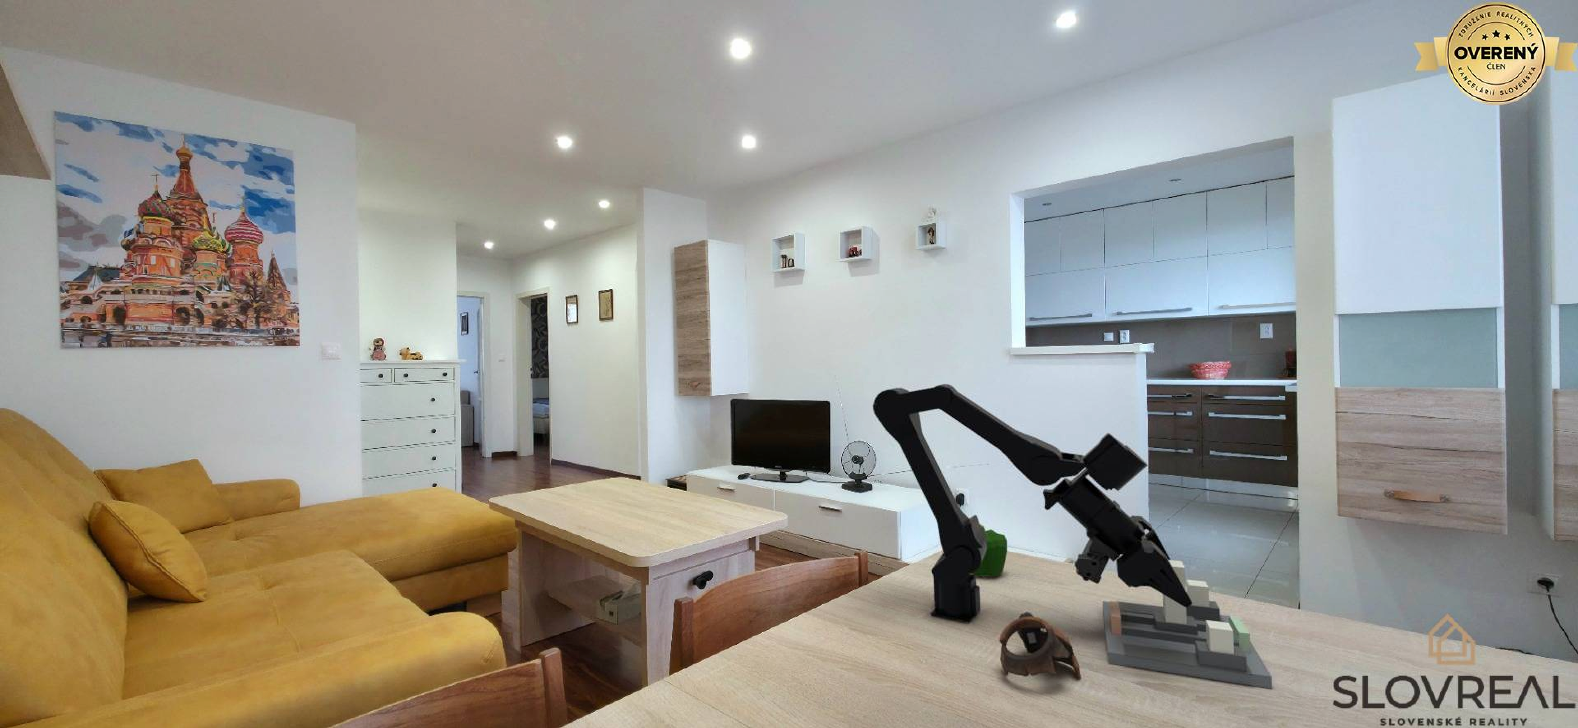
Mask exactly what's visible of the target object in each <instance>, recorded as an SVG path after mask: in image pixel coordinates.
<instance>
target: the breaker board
mask: <svg viewBox="0 0 1578 728" xmlns="http://www.w3.org/2000/svg"><path fill="white" fill-rule="evenodd" d="M1185 585H1186V592H1187V594H1188V596H1189V598H1190V599H1191V601H1192V604H1191V605H1190V606H1189V607H1187V608H1186V616H1191V617H1194V619H1195V622H1196V624H1197V626H1198V635H1192V634H1185V633H1177V632H1170V631H1162V630H1155V628H1154V616H1153V612H1158V613H1163V606H1160V605H1151V604H1145V603H1134V602H1128V601H1127V602H1126V601H1118V600H1116V601H1112V600H1109V601H1106V600H1103V601H1102V614H1103V624H1104V634H1105V643H1106V652H1107V662H1108V664H1112V665H1117V666H1123V667H1131V668H1137V669H1142V670H1143V669H1144V670H1150V671H1156V672H1163V673H1170V674H1175V675H1181V676H1182V675H1183V676H1188V677H1195V678H1201V679H1208V680H1214V681H1220V682H1227V683H1234V684H1240V685H1246V686H1252V687H1258V688H1265V689H1270V688H1272V689H1273V680H1272V678H1273V677H1272V675H1271V673H1270V671H1269V670H1268V668H1267V667H1266V665H1265V663H1264V661H1263V660H1262V658H1261V656H1260V655H1259V653H1258V652H1257V650H1256V648H1255V646H1254V645H1253V643H1252V641H1251V636H1250V635H1251V634H1250V632H1249V630H1248V628H1247V627H1246V625H1245V624H1244V622H1243V620H1242V619H1241V617H1240V616H1239V615H1231V614H1228V615H1224V614H1223V615H1222V614H1221V612H1220V611H1221V610H1220V606H1219V605H1218V603H1217V601H1215V600H1210V591H1209V590H1210V588H1209V586H1208V583H1207V582H1206V581H1203V580H1196V579H1195V580H1192V579H1185Z"/></svg>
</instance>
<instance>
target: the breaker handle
mask: <svg viewBox="0 0 1578 728" xmlns="http://www.w3.org/2000/svg"><path fill="white" fill-rule="evenodd" d="M1169 562H1170V564H1171V565H1172V567H1173V569H1174V571H1175V573H1176V574H1177V576H1178V578H1179V580H1180V582H1181V583H1182V585H1183V587H1184V589H1185V590H1186V591H1187V586H1186V568H1185V565H1184V563H1183V561H1181V560H1172V559H1171V560H1169ZM1162 605H1163V606H1162V607H1163V613H1158V612H1153V616H1154V628H1155V630H1162V631H1170V632H1177V633H1185V634H1192V635H1198V626H1197V624H1196V622H1195V619H1194V617H1191V616H1186V607H1184V606H1182V605H1180V604H1179V603H1177V602H1175V601H1174V600H1172V599H1170V598H1169V597H1167V596H1165V595H1164V594H1162Z"/></svg>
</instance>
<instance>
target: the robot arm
mask: <svg viewBox="0 0 1578 728" xmlns="http://www.w3.org/2000/svg"><path fill="white" fill-rule="evenodd" d="M873 400H874V401H873V403H872V409H873V413H874V415H875V417H876V419H877V420H878V421H879V423H880V425H881V426H882V427H883V428H884V430H885V431H886V432H887V433H888V434H889V435H890V436H891V437H892V438H893V440H895V441H896V442H897V443H898V445H899V447H900V449H901V450H902V453H903V455H904V457H905V459H906V461H907V463H908V466H909V468H910V470H911V471H912V473H913V475H914V477H915V480H916V482H917V483H918V486H919V487H920V490H921V492H922V494H923V496H924V498H925V500H926V502H927V504H928V506H929V508H930V510H931V512H932V514H933V516H934V518H935V520H936V525H937V529H938V536H939V542H940V545H941V549H942V552H943V553H942V554H941V555H940V556H939V558H938V559H937V561H936V562H935V564H934V565H933V567H932V568H931V572H930V573H931V574H932V577H933V599H934V607H933V609H932V610H931V612H930V616H932V617H935V618H941V619H944V620H945V619H946V620H950V621H955V622H960V623H966V624H970V623H971V622H972V621H973V620H974V618H975V617H976V616H977V615H978V614H979V613H980V612H981V589H980V588H981V587H980V586H979V585H977V576H975V575H972V574H971V573H973V572H975V571H976V570H977V569H978V568H979V567H980V565H981V563H982V560H983V558H984V556H985V553H986V550H987V544H986V539H987V537H988V536H987V535H986V534H985V533H984V532H983V530H982V529H981V526H980V524H981V523H980V521H979V517H978V516H977V514H975V515H972V516H971V517H968V516H967V514H966V513H964V512H963V511H962V510H961V508H960V506H959V504H958V502H957V500H956V498H955V496H954V494H953V492H952V490H951V488H950V486H949V484H948V482H947V479H946V478H945V476H944V474H943V472H942V470H941V468H940V466H939V464H938V462H937V459H936V458H935V455H934V453H933V452H932V449H931V448H930V446H929V443H928V442H927V440H926V438H925V436H924V435H925V434H924V433H923V429H922V422H921V416H920V413H924V412H928V411H933V410H940V411H942V412H943V413H945V414H946V415H948V416H950V417H951V418H952V419H954V420H955V421H957V422H958V423H960V424H961V425H963V426H964V427H965V428H967V429H969V430H970V431H971V432H973V433H974V434H976V435H977V436H979V437H980V438H981V439H983V440H985V441H986V442H988V443H989V444H990V445H992V446H993V447H995V448H996V449H998V451H1000V452H1001V453H1002V454H1003V455H1004V456H1005V457H1006V458H1008V460H1009V461H1010V462H1011V463H1012V465H1013V466H1014V467H1015V468H1016V469H1017V470H1018V471H1019V472H1020V473H1021V474H1023V476H1025V478H1026V479H1027V480H1029V481H1030V482H1031V483H1032V484H1034V485H1036V486H1038V487H1039V486H1040V487H1045V486H1053V485H1054V484H1056V483H1058V481H1060V480H1061V479H1062V480H1061V481H1060V482H1059V483H1058V484H1057V485H1055V486H1054V487H1053V488H1052V489H1047V488H1044V489H1043V491H1042V495H1043V498H1044V499H1043V500H1044V510H1047V511H1049V510H1050V509H1051V508H1052V507H1054V505H1056V504H1057V503H1058V504H1059V505H1060V506H1061V507H1062V508H1063V509H1064V510H1065V511H1066V512H1068V514H1069V515H1071V516H1072V517H1073V518H1074V520H1076V521H1077V522H1078V523H1079V524H1080V525H1081V526H1082V527H1083V528H1084V529H1085V533H1086V537H1087V538H1088V541H1087V542H1086V545H1085V547H1084V549H1083V551H1082V553H1078V555H1077V560H1075V561H1074V567H1075V573H1076V574H1077V575H1078V576H1080V577H1081V578H1082V580H1083V581H1085V582H1089V581H1090V582H1092V583H1094V584H1096V585H1098V584H1099V583H1100V582H1101V580H1102V576H1103V575H1102V574H1103V572H1104V571H1105V569H1106V567H1107V565H1108V563H1109V560H1111V561H1112V562H1113V563H1114V562H1116V566H1115V567H1116V573H1117V577H1118V578H1119V579H1120V580H1121V581H1122V582H1123V583H1124V584H1125V585H1126V586H1127V587H1128V588H1132V587H1133V588H1139V587H1150V588H1152V589H1154V590H1155V591H1157V592H1159V594H1162V595H1163V594H1164V595H1165V596H1167V597H1169V598H1170V599H1172V600H1174V601H1175V602H1177V603H1179V604H1180V605H1182V606H1184V607H1186V608H1187V607H1189V606H1190V605H1191V604H1192V601H1191V599H1190V598H1189V596H1188V594H1187V589H1186V590H1185V589H1184V587H1183V585H1182V583H1181V582H1180V580H1179V578H1178V576H1177V574H1176V573H1175V571H1174V569H1173V567H1172V565H1171V564H1170V562H1169V560H1172V559H1171V558H1170V556H1169V554H1168V552H1167V551H1166V548H1165V547H1164V545H1163V543H1162V540H1160V538H1159V536H1158V534H1157V532H1156V530H1155V529H1154V528H1153V527H1152V524H1150V522H1149V521H1147V520H1146V519H1145V518H1144V517H1143V516H1142V515H1131V516H1129V515H1128V514H1127V513H1126V512H1125V511H1124V510H1123V509H1122V508H1121V505H1120V504H1119V503H1118V502H1117V501H1116V500H1115V499H1114V500H1112V499H1111V498H1109V496H1108V495H1107V494H1105V493H1104V492H1103V491H1102V489H1104V491H1109V490H1110V491H1112V490H1113V489H1114V490H1115V491H1118V492H1119V491H1120V490H1121V489H1122V488H1123V487H1125V486H1126V485H1127V484H1128V483H1129V482H1131V480H1133V479H1134V478H1135V477H1136V476H1138V475H1139V474H1140V473H1141V472H1142V471H1143V470H1144V469H1145V468H1147V467H1148V466H1149V465H1148V463H1147V462H1146V461H1144V459H1143V458H1141V457H1140V456H1139V455H1138V454H1137V453H1136V452H1135V451H1134V450H1133V449H1132V448H1131V447H1129V446H1128V445H1126V444H1124V443H1123V442H1121V441H1120V440H1119V439H1117V438H1116V437H1114V436H1113V435H1112V433H1110V432H1107V433H1106V434H1105V435H1104V436H1103V437H1101V438H1100V440H1099V442H1098V443H1097V444H1096V445H1095V446H1094V447H1092V448H1091V449H1090V450H1089V451H1088V452H1087V453H1085V455H1083V454H1077V453H1069V452H1063V451H1061V450H1060V449H1059V448H1058V447H1056V446H1054V444H1053V445H1052V444H1051V443H1048V442H1046V441H1045V440H1044V441H1043V440H1041V439H1039V438H1037V437H1035V436H1033V435H1030V434H1027V433H1025V432H1021V431H1020V430H1017V429H1015V428H1013V427H1012V426H1011V425H1009V424H1007V423H1005V421H1003V420H1001V419H1000V418H998V417H997V416H996V415H994V414H992V413H990V411H988V410H987V409H985V408H983V407H982V406H980V405H979V404H977V402H974V401H973V400H971V399H970V398H969V397H967V396H966V395H965V394H962V393H960V391H958V390H957V389H956V388H955V386H953V385H952V384H948V383H943V384H939V385H935V386H933V387H930V388H922V389H917V390H912V391H909V390H908V389H905V388H903V387H895V388H890V389H888V388H887V389H885V390H881V391H880V392H879V393H878V394H877V395H876V397H875V398H874V399H873ZM1087 476H1089V477H1090V478H1092V480H1093V481H1094V482H1096V484H1098V486H1100V487H1101V488H1102V489H1100V488H1099V487H1097V486H1096V485H1095V484H1094V483H1093V481H1091V480H1090V479H1088V477H1087ZM1069 477H1070V478H1071V477H1074V478H1072V479H1071V480H1070V479H1069ZM1146 530H1147V531H1148V532H1147V533H1146V532H1145V531H1146Z"/></svg>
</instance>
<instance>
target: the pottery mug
mask: <svg viewBox="0 0 1578 728" xmlns="http://www.w3.org/2000/svg"><path fill="white" fill-rule="evenodd" d="M1042 629H1043V630H1042ZM1044 630H1045V631H1044ZM1015 633H1017V635H1018V636H1019V638H1020V640H1021V641H1022V643H1023V645H1024V648H1025V649H1026V653H1027V654H1023V655H1022V654H1017V653H1014V652H1012V651H1010V650H1009V649H1008V648H1007V645H1008V642H1009V639H1010V638H1011V637H1012V636H1013V635H1014V634H1015ZM999 643H1000V644H1001V646H1000V647H1001V648H1000V658H999V659H1000V660H999V661H1000V664H1001V669H1002V670H1003V673H1004V674H1005V675H1008V674H1013V675H1017V676H1021V677H1029V675H1031V676H1037V675H1039V674H1041V673H1050V674H1053V675H1056V674H1057V672H1056V671H1055V670H1056V669H1055V665H1054V663H1055V662H1056V663H1057V662H1058V663H1063V664H1065V665H1068V666H1070V667H1071V668H1072V669H1073V670H1074V672H1075V673H1076V679H1078V680H1082V675H1081V670H1080V669H1081V668H1080V664H1079V661H1078V659H1077V657H1076V655H1075V653H1074V649H1073V645H1072V644H1071V642H1070V640H1069V638H1067V636H1066V635H1065V634H1064V633H1063V632H1062V631H1061V630H1059V629H1058V628H1056V627H1055V626H1053V625H1051V624H1050V623H1049V622H1048V621H1046V620H1045V619H1042V618H1040V617H1037V616H1034V615H1033V614H1032V613H1031V612H1028V611H1026V612H1024V613H1021V614H1020V615H1019V616H1018V618H1017V619H1015V620H1013V621H1011V622H1010V623H1009V624H1008V625H1006V626H1005V627H1004V628H1003V630H1002V632H1001V633H1000V636H999Z"/></svg>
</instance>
